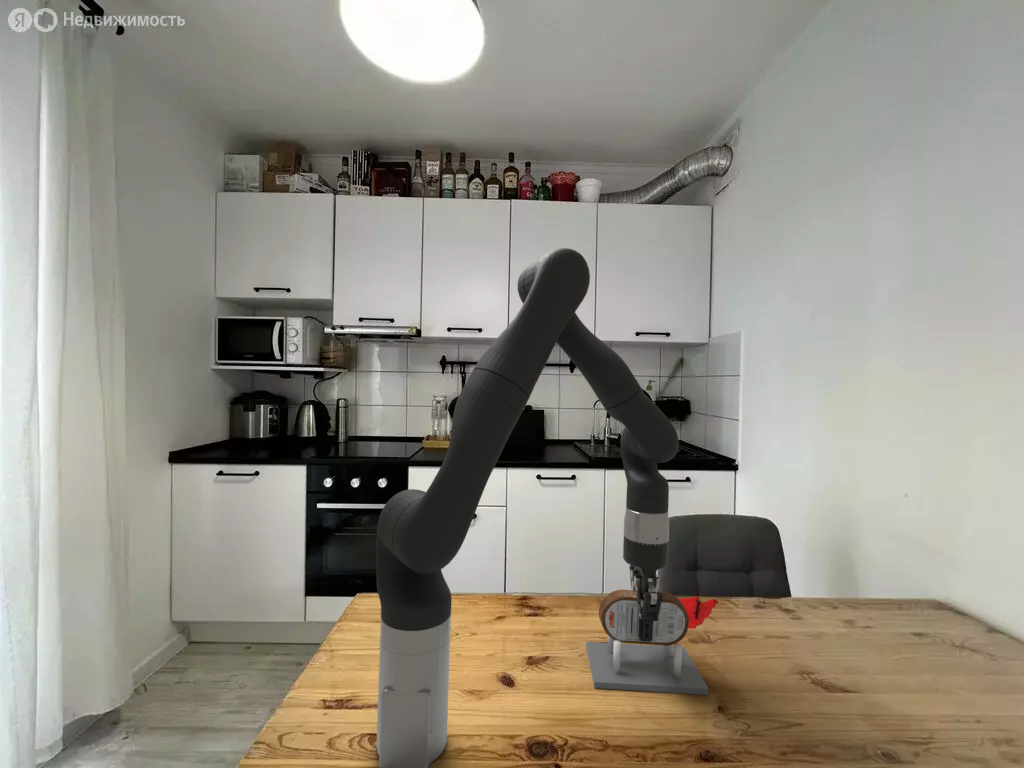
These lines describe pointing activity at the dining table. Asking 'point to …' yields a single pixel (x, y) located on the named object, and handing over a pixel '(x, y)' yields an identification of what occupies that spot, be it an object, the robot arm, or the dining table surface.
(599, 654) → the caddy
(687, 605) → the cloth
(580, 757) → the dining table surface
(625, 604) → the tin
